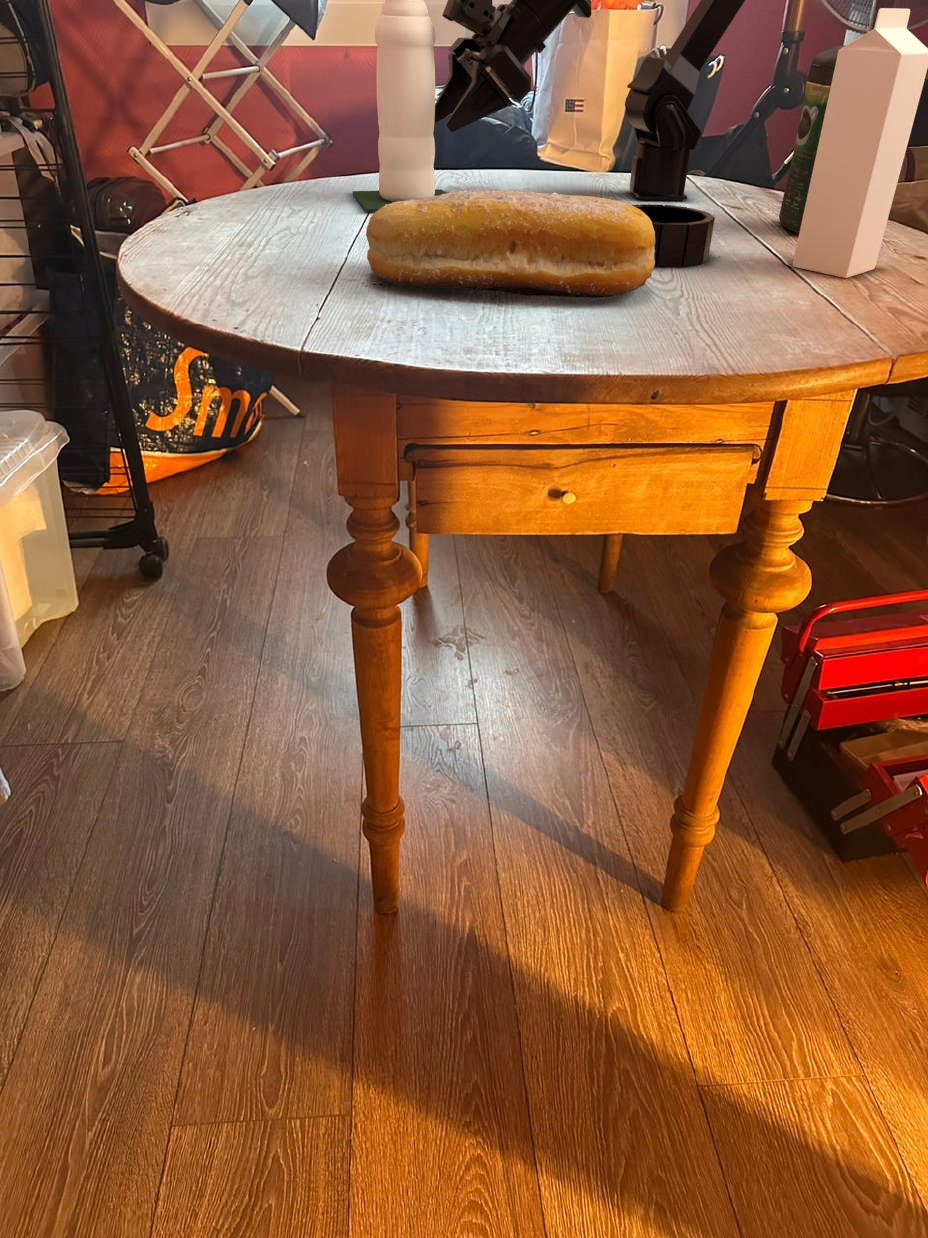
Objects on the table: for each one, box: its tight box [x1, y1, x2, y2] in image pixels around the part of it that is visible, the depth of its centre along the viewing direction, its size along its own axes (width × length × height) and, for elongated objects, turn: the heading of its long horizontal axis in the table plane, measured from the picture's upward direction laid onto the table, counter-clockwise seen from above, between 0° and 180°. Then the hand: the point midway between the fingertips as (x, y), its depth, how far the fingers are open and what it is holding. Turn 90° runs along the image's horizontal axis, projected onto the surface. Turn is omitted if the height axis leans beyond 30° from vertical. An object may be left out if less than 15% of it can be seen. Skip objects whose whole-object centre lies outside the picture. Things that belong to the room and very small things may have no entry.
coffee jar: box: [778, 44, 847, 234], centre depth 103 cm, size 10×8×19 cm
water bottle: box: [374, 0, 437, 202], centre depth 110 cm, size 7×7×25 cm
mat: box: [352, 188, 448, 214], centre depth 117 cm, size 12×12×1 cm
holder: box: [631, 203, 716, 268], centre depth 95 cm, size 10×10×4 cm
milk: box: [792, 7, 928, 279], centre depth 87 cm, size 6×6×22 cm
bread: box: [365, 189, 655, 299], centre depth 83 cm, size 13×26×8 cm, turn 84°
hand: (439, 123), depth 113 cm, fingers open, 9 cm apart
